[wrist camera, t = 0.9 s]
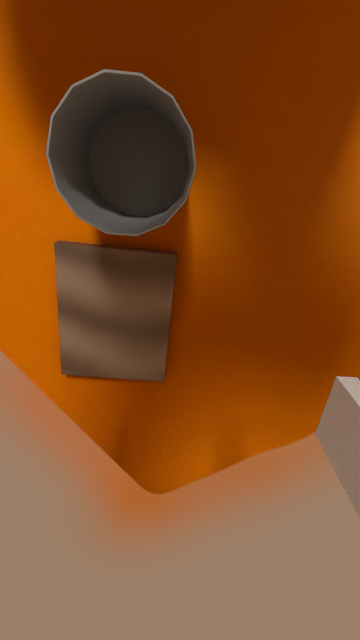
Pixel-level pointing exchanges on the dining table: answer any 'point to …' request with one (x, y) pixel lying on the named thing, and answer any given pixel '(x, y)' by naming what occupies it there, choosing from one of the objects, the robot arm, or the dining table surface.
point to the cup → (121, 152)
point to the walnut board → (114, 310)
